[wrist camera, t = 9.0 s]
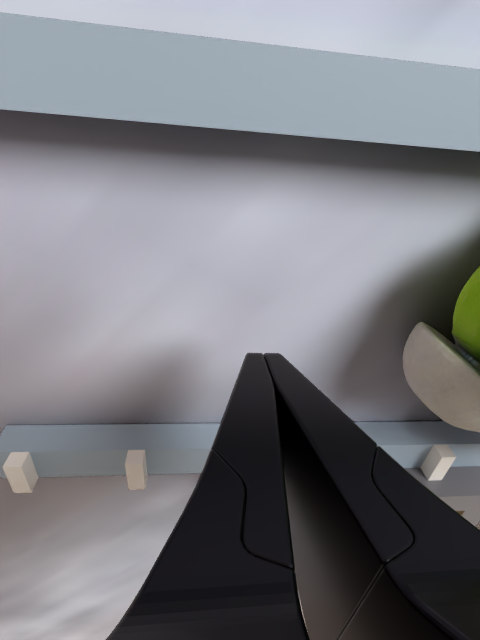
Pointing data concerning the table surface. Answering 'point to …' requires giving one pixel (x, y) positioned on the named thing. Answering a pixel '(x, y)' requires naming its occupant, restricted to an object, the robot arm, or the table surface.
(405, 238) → the table surface
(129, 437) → the rail
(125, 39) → the rail
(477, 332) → the multicoloured petal shapes
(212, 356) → the table surface
